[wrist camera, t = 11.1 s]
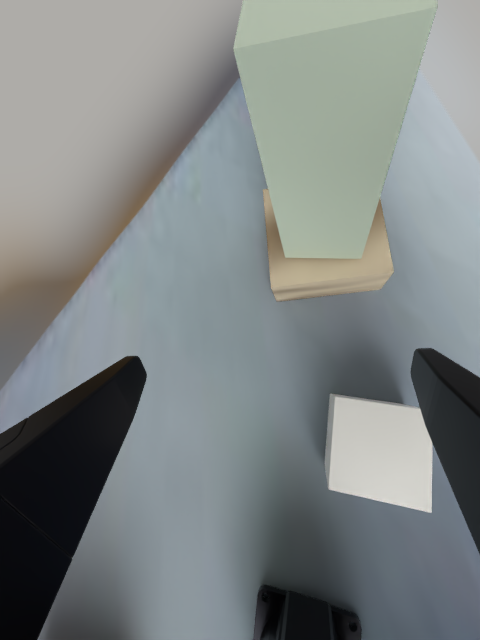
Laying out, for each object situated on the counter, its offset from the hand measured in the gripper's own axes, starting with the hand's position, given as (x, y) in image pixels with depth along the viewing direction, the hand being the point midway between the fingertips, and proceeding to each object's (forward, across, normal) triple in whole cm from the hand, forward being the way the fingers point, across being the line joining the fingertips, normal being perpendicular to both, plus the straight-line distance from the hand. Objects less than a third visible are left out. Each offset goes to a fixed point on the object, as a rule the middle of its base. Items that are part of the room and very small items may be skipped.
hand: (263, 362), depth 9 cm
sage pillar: (+14, -3, 0) cm, 14 cm away
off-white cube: (+7, -5, +13) cm, 15 cm away
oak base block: (+17, -3, +3) cm, 17 cm away
